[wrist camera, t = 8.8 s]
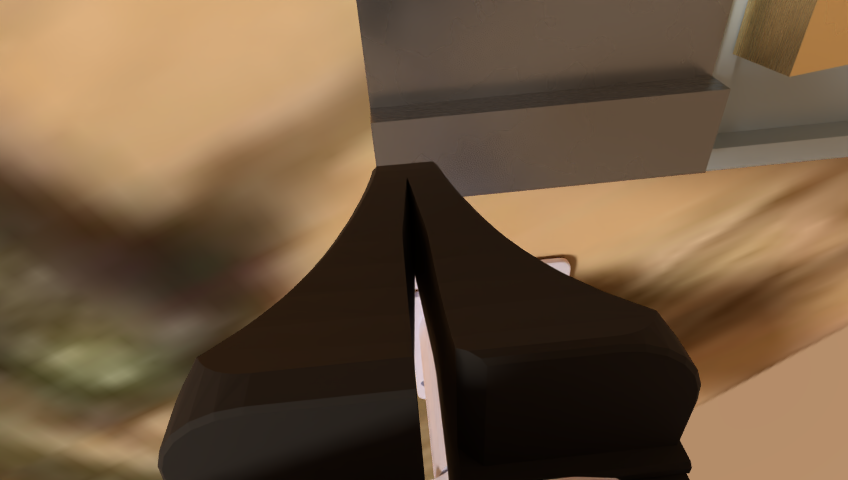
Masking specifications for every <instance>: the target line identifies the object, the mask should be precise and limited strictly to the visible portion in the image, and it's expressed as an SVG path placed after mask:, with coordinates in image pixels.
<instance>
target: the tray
mask: <svg viewBox="0 0 848 480" xmlns="http://www.w3.org/2000/svg"><path fill="white" fill-rule="evenodd" d="M747 3H748V0H733V3H732V6H731V10H730V14H729V17H728V21H727V24H726V28H725V31H724V35H723V39H722V42H721V46H720V49H719V53H718V57H717V60H716V64H715V67H714V71H713V75H712V76H713V77H714V78H716V79H717V80H719V81H720V82H721V83H723V84H724V85H726V86H727V87H729V88H730V89H731V90H730V93H729V97H728V100H727V103H726V106H725V110H724V113H723V116H722V120H721V123H720V126H719V129H718V133H717V136H716V139H715V142H714V146H713V149H712V152H711V156H710V159H709V162H708V165H707V169H706V171H713V170H723V169H733V168H743V167H753V166H763V165H773V164H783V163H793V162H803V161H813V160H823V159H833V158H843V157H848V65H844V66H839V67H834V68H830V69H825V70H820V71H815V72H811V73H806V74H801V75H796V76H791V77H788V76H786V75H783V74H781V73H778V72H776V71H773V70H771V69H769V68H766V67H764V66H761V65H759V64H756V63H754V62H751V61H749V60H746V59H744V58H741V57H739V56H736V55H734V54H733V51H734V47H735V44H736V40H737V37H738V34H739V30H740V27H741V23H742V20H743V16H744V13H745V10H746V6H747Z"/></svg>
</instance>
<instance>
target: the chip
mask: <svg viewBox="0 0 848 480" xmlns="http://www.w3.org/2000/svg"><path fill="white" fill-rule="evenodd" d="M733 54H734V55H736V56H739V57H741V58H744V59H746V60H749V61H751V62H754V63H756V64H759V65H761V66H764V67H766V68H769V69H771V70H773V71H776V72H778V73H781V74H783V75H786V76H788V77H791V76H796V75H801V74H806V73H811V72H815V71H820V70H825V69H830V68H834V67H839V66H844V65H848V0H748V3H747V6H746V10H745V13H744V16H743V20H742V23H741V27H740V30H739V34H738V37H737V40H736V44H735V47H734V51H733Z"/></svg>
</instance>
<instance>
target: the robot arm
mask: <svg viewBox="0 0 848 480" xmlns="http://www.w3.org/2000/svg"><path fill="white" fill-rule="evenodd" d="M570 271H571V266H570V264H569V262H568V260H567V259H565V258H553V259H543V260H539V259H537V258H536V257H534V256H532V255H531V254H529V253H528V252H526V251H525V250H523V249H521V248H520V247H519V246H517V245H516V244H515V243H513V242H512V241H510V240H509V239H508V238H506V237H505V236H504V235H502V234H501V233H500V232H499V231H498V230H496V229H495V228H494V227H493V226H492V225H491V224H490V223H488V222H487V221H486V220H485V219H484V218H483V217H482V216H481V215H480V214H479V213H478V212H477V211H476V210H475V209H474V208H473V207H472V206H471V205H470V204H469V203H468V202H467V201H466V200H465V199H464V198H463V197H462V196H461V194H460V193H459V192H458V191H457V190H456V189H455V187H454V186H453V185H452V184H451V183H450V181H449V180H448V179H447V178H446V176H445V175H444V174H443V172H442V171H441V169H440V168H439V166H438V165H437V164H436V163H434V162H433V161H430V162H419V163H407V164H396V165H385V166H377V167H376V168H375V169H374V170H373V171H372V175H371V178H370V181H369V183H368V185H367V188H366V190H365V192H364V194H363V196H362V198H361V200H360V202H359V204H358V205H357V207H356V209H355V211H354V213H353V214H352V216H351V218H350V220H349V221H348V223H347V224H346V226H345V227H344V229H343V230H342V232H341V233H340V235H339V236H338V238H337V239H336V240H335V242H334V243H333V245H332V246H331V247H330V248H329V250H328V251H327V252H326V254H325V255H324V256H323V257H322V258H321V260H320V261H319V262H318V263H317V264H316V265H315V267H314V268H313V269H312V270H311V271H310V272H309V273H308V274H307V275H306V276H305V277H304V278H303V279H302V280H301V281H300V282H299V283H298V284H297V285H296V286H295V287H294V288H293V289H292V290H291V291H290V292H289V293H288V294H287V295H285V296H284V297H283V298H282V299H281V300H279V301H278V302H277V303H276V304H275V305H273V306H272V307H271V308H270V309H268V310H267V311H266V312H264V313H263V314H262V315H260V316H259V317H258V318H257V319H255V320H254V321H253V322H251V323H250V324H248V325H247V326H245V327H244V328H243V329H241V330H240V331H238V332H236V333H235V334H233V335H232V336H230V337H229V338H227V339H226V340H224V341H222V342H221V343H219V344H218V345H216V346H215V347H213V348H211V349H210V350H208V351H207V352H205V353H203V354H202V355H200V356H198V357H197V358H196V359H195V361H194V364H193V366H192V368H191V370H190V372H189V374H188V376H187V378H186V380H185V382H184V384H183V386H182V389H181V391H180V393H179V395H178V398H177V400H176V403H175V406H174V409H173V412H172V414H171V417H170V420H169V423H168V426H167V429H166V432H165V435H164V438H163V441H162V444H161V447H160V450H159V459H158V468H159V470H160V473H161V475H162V478H163V480H425V476H424V466H423V455H422V444H421V433H420V422H419V411H418V401H417V392H418V396H419V397H420V398H422V399H426V405H427V415H428V424H429V433H430V443H431V452H432V461H433V471H434V479H431V480H689V478H688V476H687V474H686V473H690V470H691V468H692V467H691V461H690V459H689V457H688V455H687V453H686V452H685V450H684V448H683V446H682V444H681V442H680V438H681V436H682V434H683V431H684V429H685V427H686V425H687V422H688V420H689V418H690V415H691V413H692V411H693V409H694V406H695V404H696V402H697V399H698V395H699V391H700V387H701V383H700V378H699V374H698V370H697V368H696V367H695V365H694V363H693V362H692V360H691V359H690V357H689V355H688V354H687V352H686V350H685V349H684V347H683V346H682V344H681V343H680V341H679V340H678V338H677V337H676V335H675V334H674V332H673V331H672V330H671V329H670V327H669V326H668V325H667V324H666V322H665V321H664V320H663V319H662V317H661V316H660V314H659V313H658V312H657V311H656V310H653V309H650V308H647V307H645V306H642V305H639V304H636V303H633V302H631V301H628V300H625V299H622V298H619V297H617V296H614V295H611V294H608V293H606V292H603V291H601V290H599V289H596V288H594V287H592V286H590V285H587V284H585V283H583V282H581V281H579V280H576V279H574V278H572V277H570ZM415 289H418V291H417V292H415ZM415 374H416V379H415ZM416 383H417V390H416Z"/></svg>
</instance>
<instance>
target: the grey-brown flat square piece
mask: <svg viewBox="0 0 848 480" xmlns="http://www.w3.org/2000/svg"><path fill="white" fill-rule="evenodd" d="M356 1H357V9H358V17H359V24H360V32H361V40H362V47H363V55H364V63H365V70H366V78H367V85H368V93H369V101H370V110H371V129H372V136H373V144H374V152H375V159H376V167H377V166H385V165H396V164H407V163H419V162H430V161H433V162H434V163H436V164H437V165H438V166H439V168H440V169H441V171H442V172H443V174H444V175H445V176H446V178H447V179H448V180H449V181H450V183H451V184H452V185H453V186H454V187H455V189H456V190H457V191H458V192H459V193H460V194H461V196H462V197H465V196H475V195H485V194H495V193H505V192H515V191H525V190H535V189H545V188H555V187H565V186H575V185H585V184H595V183H605V182H615V181H625V180H635V179H645V178H655V177H665V176H675V175H685V174H695V173H705V172H706V169H707V165H708V162H709V159H710V156H711V152H712V149H713V146H714V142H715V139H716V136H717V133H718V129H719V126H720V123H721V120H722V116H723V113H724V110H725V106H726V103H727V100H728V97H729V93H730V90H731V89H730V88H729V87H727V86H726V85H724V84H723V83H721V82H720V81H719V80H717V79H716V78H714V77H713V76H712V75H713V71H714V67H715V64H716V60H717V57H718V53H719V49H720V46H721V42H722V39H723V35H724V31H725V28H726V24H727V21H728V17H729V14H730V10H731V6H732V3H733V0H356Z"/></svg>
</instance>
